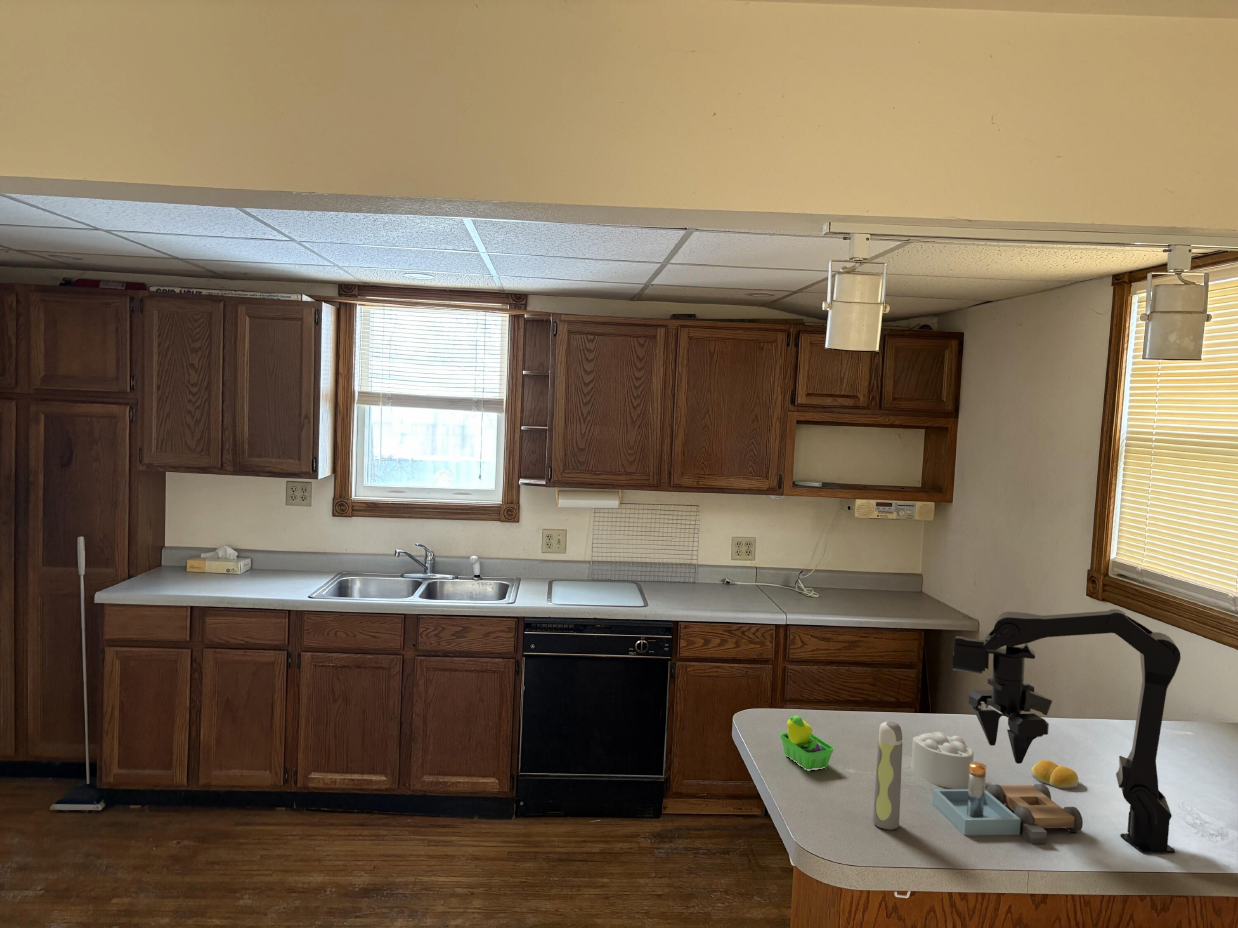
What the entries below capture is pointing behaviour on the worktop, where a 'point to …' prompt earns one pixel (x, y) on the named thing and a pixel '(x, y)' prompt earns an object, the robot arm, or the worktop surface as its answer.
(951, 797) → the tray
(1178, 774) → the worktop surface
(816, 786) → the worktop surface
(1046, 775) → the bread roll
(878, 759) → the grey and yellow cylinder
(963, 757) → the lumpy-topped squat cylinder
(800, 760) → the fruit basket
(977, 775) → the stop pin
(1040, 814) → the dolly
